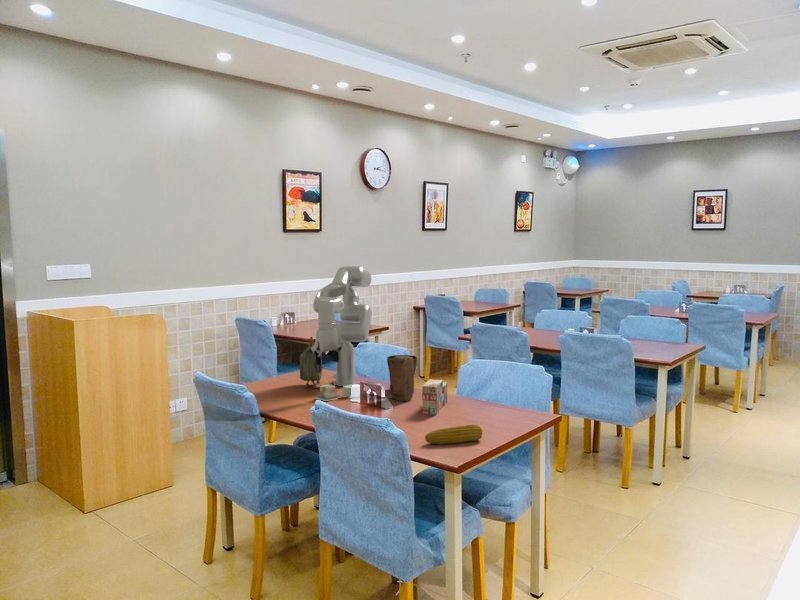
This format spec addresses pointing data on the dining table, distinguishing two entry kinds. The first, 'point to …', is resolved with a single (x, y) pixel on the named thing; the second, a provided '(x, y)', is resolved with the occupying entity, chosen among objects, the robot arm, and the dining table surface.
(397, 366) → the brown tapered cylinder
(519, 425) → the dining table surface
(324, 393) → the birch block
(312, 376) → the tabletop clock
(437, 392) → the stack of blocks
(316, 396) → the blueprint pad
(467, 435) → the food
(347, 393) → the sage block
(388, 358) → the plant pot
